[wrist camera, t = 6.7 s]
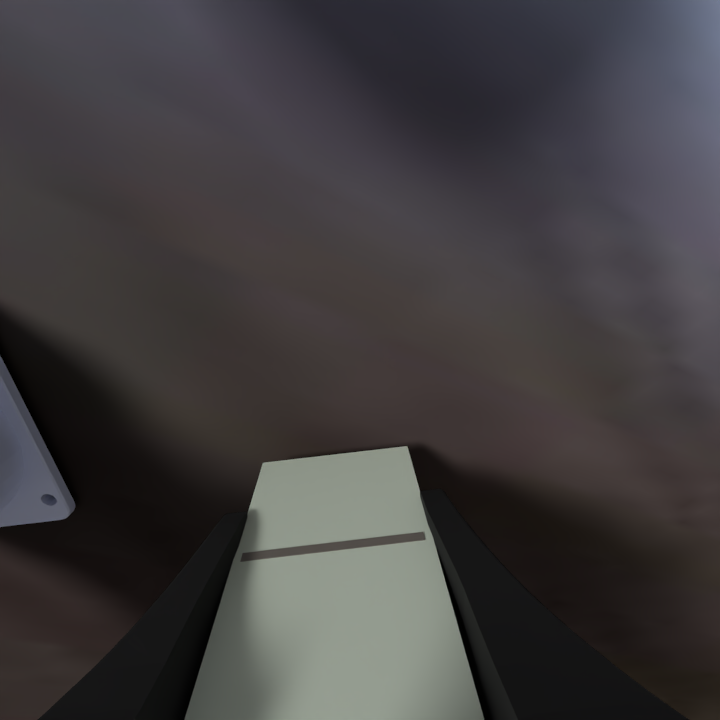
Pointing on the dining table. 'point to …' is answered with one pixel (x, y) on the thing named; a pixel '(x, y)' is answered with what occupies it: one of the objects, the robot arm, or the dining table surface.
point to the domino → (336, 602)
